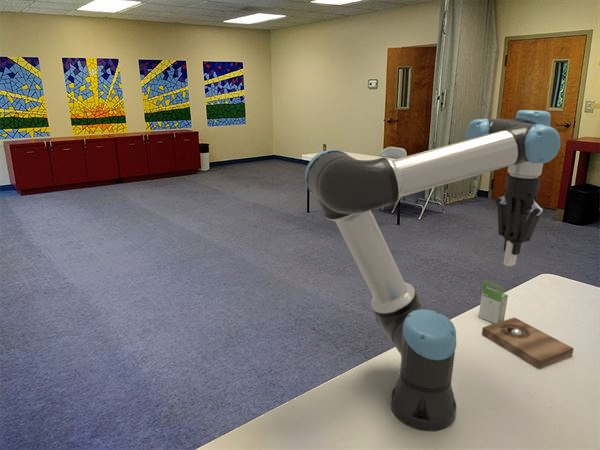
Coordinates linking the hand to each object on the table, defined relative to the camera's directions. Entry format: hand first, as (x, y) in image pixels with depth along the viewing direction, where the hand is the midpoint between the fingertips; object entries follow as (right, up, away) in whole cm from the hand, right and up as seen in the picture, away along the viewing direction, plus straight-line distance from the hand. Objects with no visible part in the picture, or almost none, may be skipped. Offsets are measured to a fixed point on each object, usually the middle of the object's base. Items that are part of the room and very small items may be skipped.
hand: (509, 264), depth 120 cm
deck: (+13, -25, +17) cm, 33 cm away
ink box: (+9, -21, +32) cm, 39 cm away
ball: (+11, -23, +20) cm, 32 cm away
